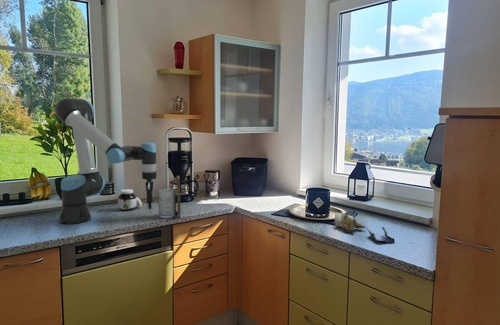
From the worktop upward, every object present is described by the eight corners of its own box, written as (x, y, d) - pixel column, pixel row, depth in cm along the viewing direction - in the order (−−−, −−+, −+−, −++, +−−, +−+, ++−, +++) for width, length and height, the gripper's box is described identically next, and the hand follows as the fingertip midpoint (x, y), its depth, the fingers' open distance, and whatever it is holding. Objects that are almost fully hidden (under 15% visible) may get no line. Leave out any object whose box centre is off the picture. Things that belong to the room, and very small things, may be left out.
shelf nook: (171, 219, 200) (170, 178, 197) (171, 214, 209) (170, 175, 207) (180, 218, 201) (179, 178, 198) (180, 213, 210) (179, 175, 208)
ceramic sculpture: (343, 207, 190) (367, 215, 178) (341, 223, 192) (366, 232, 180) (329, 210, 184) (353, 219, 172) (327, 227, 185) (352, 236, 174)
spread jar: (116, 210, 218) (115, 191, 216) (128, 206, 229) (127, 187, 227) (133, 212, 214) (133, 192, 213) (145, 207, 225) (144, 188, 224)
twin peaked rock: (392, 237, 171) (365, 234, 175) (394, 224, 169) (366, 221, 173) (394, 250, 160) (365, 247, 164) (396, 237, 158) (366, 233, 162)
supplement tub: (167, 213, 212) (166, 188, 210) (179, 215, 207) (179, 189, 205) (154, 217, 203) (154, 190, 202) (167, 219, 198) (166, 192, 197)
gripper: (155, 173, 194) (156, 217, 197) (156, 169, 207) (157, 210, 210) (140, 173, 192) (141, 217, 195) (142, 169, 205) (143, 211, 208)
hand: (150, 214), depth 202 cm, fingers closed
